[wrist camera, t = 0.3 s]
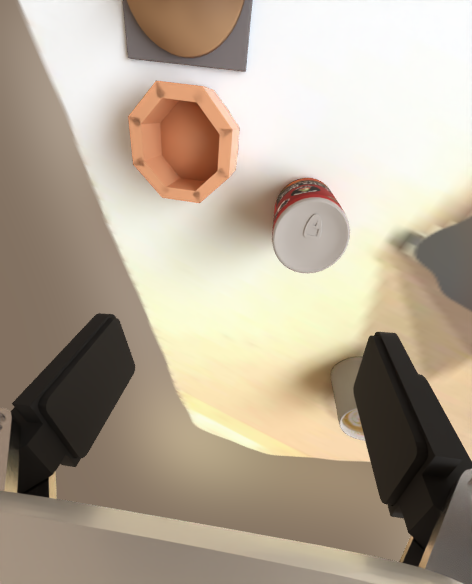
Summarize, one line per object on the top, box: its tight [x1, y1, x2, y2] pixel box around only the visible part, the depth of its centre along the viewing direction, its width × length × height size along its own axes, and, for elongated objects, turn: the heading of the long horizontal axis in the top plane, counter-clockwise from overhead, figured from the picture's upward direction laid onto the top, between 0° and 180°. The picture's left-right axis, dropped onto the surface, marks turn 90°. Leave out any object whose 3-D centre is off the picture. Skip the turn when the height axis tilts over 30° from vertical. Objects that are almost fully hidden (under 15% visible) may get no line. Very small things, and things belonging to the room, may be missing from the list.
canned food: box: [272, 178, 350, 273], centre depth 31 cm, size 8×8×11 cm
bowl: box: [128, 81, 240, 203], centre depth 31 cm, size 11×11×6 cm
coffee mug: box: [331, 357, 365, 441], centre depth 46 cm, size 13×10×10 cm
